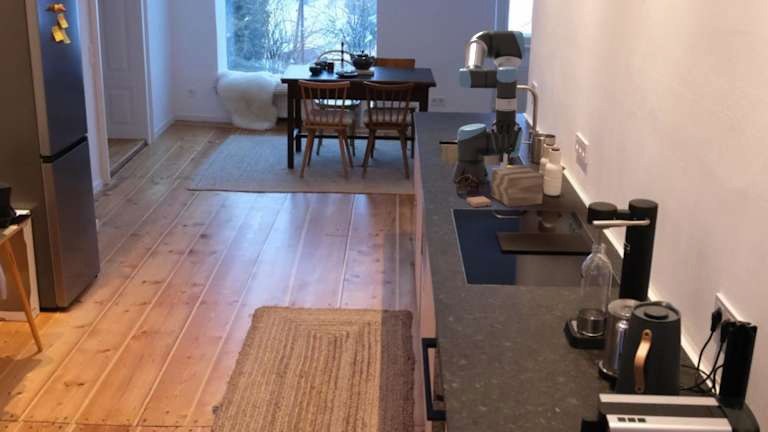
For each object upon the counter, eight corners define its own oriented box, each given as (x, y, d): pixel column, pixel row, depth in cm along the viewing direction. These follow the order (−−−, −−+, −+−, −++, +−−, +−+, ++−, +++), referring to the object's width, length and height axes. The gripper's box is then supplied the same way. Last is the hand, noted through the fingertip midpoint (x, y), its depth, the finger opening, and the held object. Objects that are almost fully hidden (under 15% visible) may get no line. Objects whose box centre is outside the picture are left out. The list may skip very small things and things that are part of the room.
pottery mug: (483, 197, 338) (474, 181, 334) (462, 206, 340) (453, 190, 337) (482, 181, 348) (473, 165, 344) (461, 190, 351) (452, 174, 347)
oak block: (491, 195, 338) (491, 168, 334) (523, 192, 342) (524, 165, 338) (508, 206, 323) (509, 178, 320) (542, 203, 327) (543, 175, 324)
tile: (483, 196, 332) (483, 201, 332) (466, 198, 330) (466, 203, 330) (491, 200, 325) (491, 206, 326) (474, 202, 323) (474, 208, 324)
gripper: (494, 112, 315) (492, 174, 322) (526, 109, 318) (523, 171, 326) (485, 108, 321) (483, 169, 329) (517, 106, 325) (514, 166, 332)
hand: (503, 170), depth 327 cm, fingers closed
